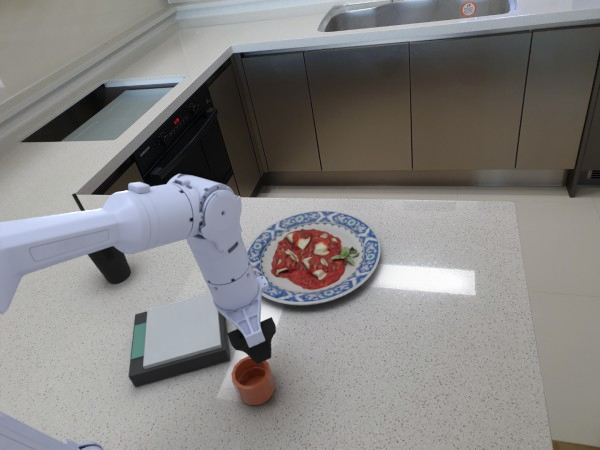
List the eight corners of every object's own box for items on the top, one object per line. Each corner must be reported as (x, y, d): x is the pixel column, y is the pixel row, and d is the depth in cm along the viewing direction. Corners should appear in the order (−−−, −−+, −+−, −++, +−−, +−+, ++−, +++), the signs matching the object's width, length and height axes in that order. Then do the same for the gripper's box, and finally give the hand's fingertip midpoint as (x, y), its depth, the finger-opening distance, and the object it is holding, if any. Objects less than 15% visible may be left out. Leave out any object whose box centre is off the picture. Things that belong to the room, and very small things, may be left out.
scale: (135, 387, 71) (126, 373, 69) (140, 324, 81) (133, 311, 79) (230, 360, 72) (224, 346, 70) (223, 302, 82) (218, 288, 80)
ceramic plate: (219, 294, 84) (215, 282, 82) (283, 211, 101) (281, 200, 99) (351, 329, 73) (350, 316, 71) (398, 229, 90) (397, 217, 88)
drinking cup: (143, 261, 95) (102, 180, 83) (128, 288, 89) (82, 205, 77) (110, 263, 97) (66, 183, 85) (93, 289, 91) (42, 208, 79)
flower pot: (241, 411, 65) (233, 394, 62) (237, 379, 69) (229, 361, 66) (278, 401, 65) (272, 382, 62) (272, 369, 69) (266, 350, 67)
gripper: (277, 293, 49) (301, 366, 58) (241, 221, 60) (265, 291, 69) (215, 320, 48) (248, 390, 56) (190, 242, 59) (220, 310, 67)
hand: (254, 337), depth 62 cm, fingers open, 7 cm apart
